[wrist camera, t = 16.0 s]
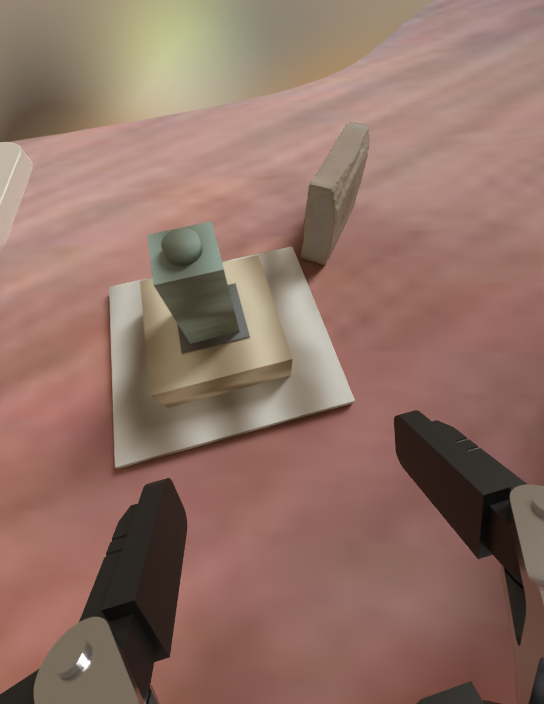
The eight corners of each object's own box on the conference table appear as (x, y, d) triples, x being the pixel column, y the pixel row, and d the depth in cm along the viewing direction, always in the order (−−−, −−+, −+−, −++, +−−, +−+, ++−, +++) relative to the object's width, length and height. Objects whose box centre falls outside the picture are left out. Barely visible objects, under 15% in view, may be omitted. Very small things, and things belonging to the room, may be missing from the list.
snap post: (229, 292, 27) (209, 211, 19) (239, 331, 25) (221, 260, 17) (183, 303, 27) (142, 225, 19) (190, 343, 25) (147, 276, 17)
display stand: (292, 252, 36) (293, 216, 31) (352, 403, 27) (367, 386, 23) (113, 292, 34) (86, 260, 29) (120, 468, 25) (84, 464, 21)
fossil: (330, 198, 40) (344, 118, 31) (355, 204, 39) (376, 125, 31) (298, 259, 35) (304, 185, 27) (325, 267, 35) (341, 195, 26)
